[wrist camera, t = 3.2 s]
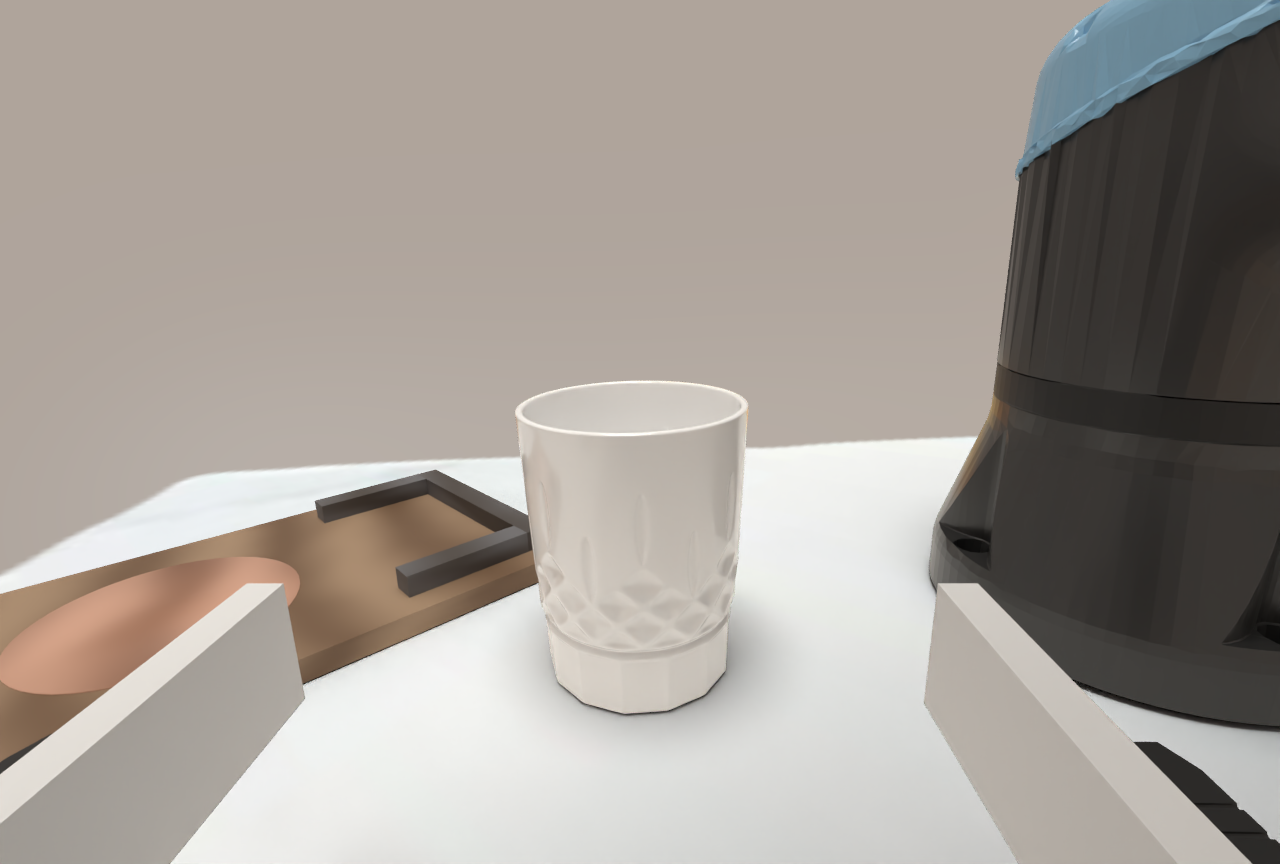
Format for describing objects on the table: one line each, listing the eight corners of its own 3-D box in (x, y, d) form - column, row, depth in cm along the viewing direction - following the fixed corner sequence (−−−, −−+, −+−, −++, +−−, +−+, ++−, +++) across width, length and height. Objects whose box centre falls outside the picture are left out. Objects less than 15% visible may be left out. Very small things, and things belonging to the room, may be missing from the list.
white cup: (497, 654, 24) (471, 405, 22) (645, 582, 29) (639, 372, 27) (631, 769, 19) (618, 451, 16) (785, 655, 24) (796, 400, 21)
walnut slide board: (444, 489, 42) (441, 461, 41) (581, 563, 31) (579, 526, 31) (-20, 621, 28) (-35, 580, 27) (-57, 838, 17) (-83, 779, 16)
